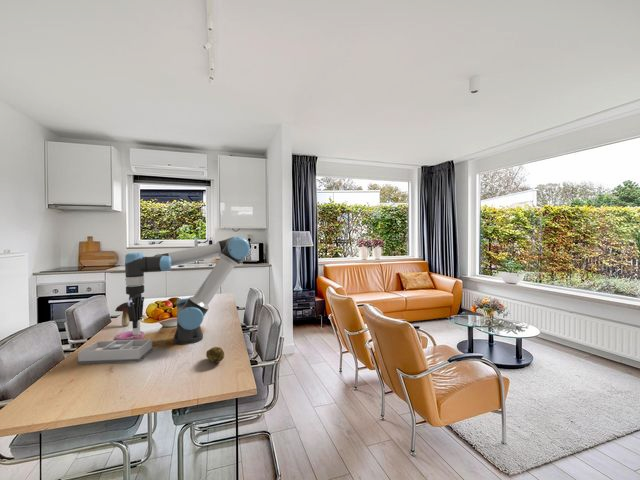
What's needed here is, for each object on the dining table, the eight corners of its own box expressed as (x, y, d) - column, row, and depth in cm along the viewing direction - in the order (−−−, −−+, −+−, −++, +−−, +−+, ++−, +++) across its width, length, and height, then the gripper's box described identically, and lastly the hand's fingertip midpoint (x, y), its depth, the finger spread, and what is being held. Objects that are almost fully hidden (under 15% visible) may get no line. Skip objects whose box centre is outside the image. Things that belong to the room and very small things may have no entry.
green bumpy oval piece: (225, 356, 143) (225, 339, 143) (223, 367, 131) (223, 349, 131) (206, 358, 141) (206, 341, 141) (203, 369, 129) (203, 351, 128)
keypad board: (152, 350, 151) (152, 339, 151) (139, 361, 137) (139, 349, 137) (97, 352, 148) (97, 340, 148) (77, 364, 134) (77, 351, 134)
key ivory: (142, 350, 146) (142, 345, 146) (138, 354, 141) (138, 349, 141) (132, 351, 145) (132, 346, 145) (127, 355, 140) (127, 349, 140)
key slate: (125, 348, 145) (125, 343, 145) (119, 352, 140) (119, 347, 140) (114, 349, 144) (114, 343, 144) (109, 352, 140) (109, 347, 139)
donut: (107, 349, 152) (107, 339, 152) (120, 339, 166) (120, 330, 166) (138, 347, 155) (138, 337, 155) (148, 338, 169) (148, 329, 169)
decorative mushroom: (139, 324, 194) (139, 301, 194) (125, 329, 184) (124, 305, 184) (125, 323, 197) (125, 300, 197) (110, 328, 186) (110, 304, 186)
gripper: (133, 283, 149) (135, 330, 149) (119, 287, 136) (120, 339, 136) (149, 282, 150) (150, 329, 150) (136, 287, 137) (138, 338, 137)
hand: (136, 334), depth 143 cm, fingers closed
